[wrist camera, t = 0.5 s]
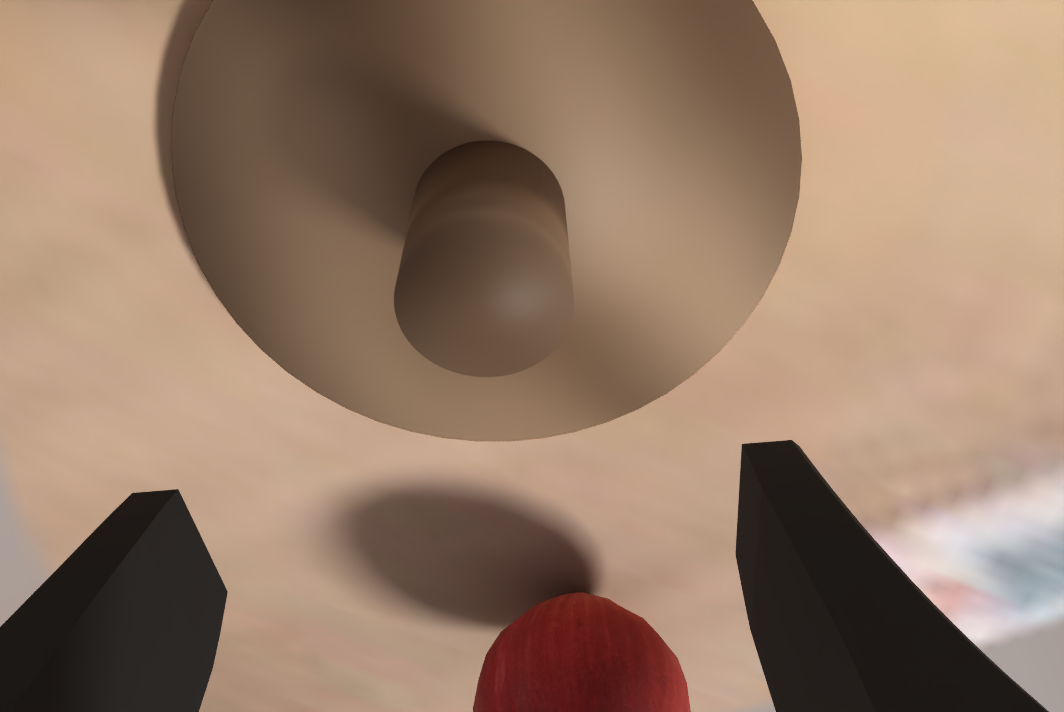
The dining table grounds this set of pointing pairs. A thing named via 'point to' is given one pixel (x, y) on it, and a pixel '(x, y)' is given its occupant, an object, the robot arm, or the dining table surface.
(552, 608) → the onion
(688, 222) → the lid
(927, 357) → the dining table surface
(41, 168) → the dining table surface
